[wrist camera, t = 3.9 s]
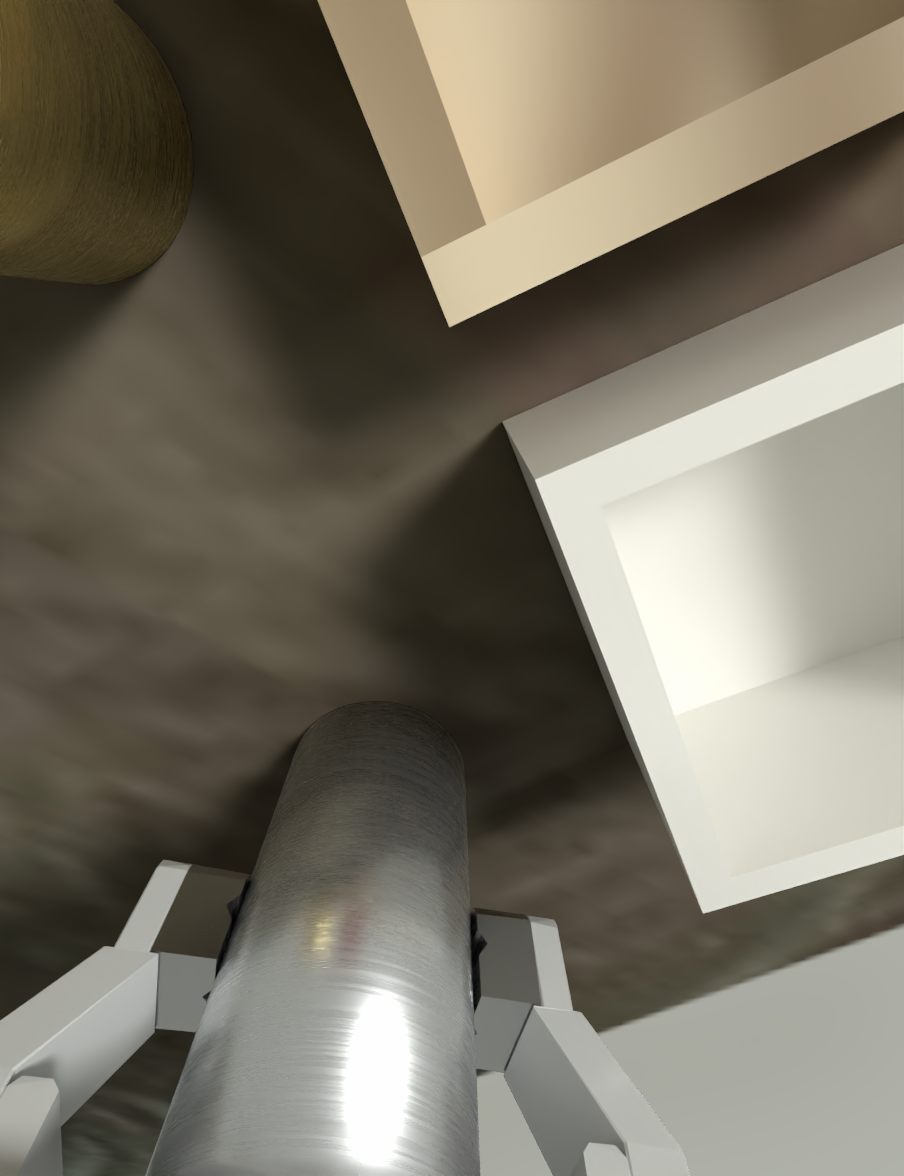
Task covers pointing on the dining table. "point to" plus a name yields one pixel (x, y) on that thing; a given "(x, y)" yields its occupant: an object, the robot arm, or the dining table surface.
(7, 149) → the brass cell
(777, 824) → the white square bin
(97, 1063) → the robot arm
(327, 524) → the dining table surface
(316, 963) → the cylinder
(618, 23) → the wooden square bin
